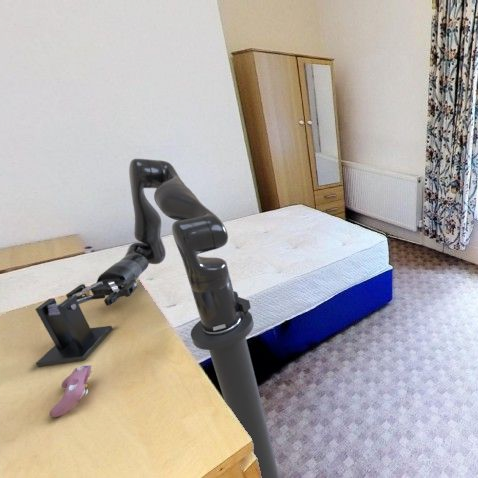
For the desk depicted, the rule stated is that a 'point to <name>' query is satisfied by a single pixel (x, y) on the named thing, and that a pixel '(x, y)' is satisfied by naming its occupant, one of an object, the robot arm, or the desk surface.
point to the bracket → (69, 333)
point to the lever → (81, 299)
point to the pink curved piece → (72, 391)
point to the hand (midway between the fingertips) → (87, 305)
